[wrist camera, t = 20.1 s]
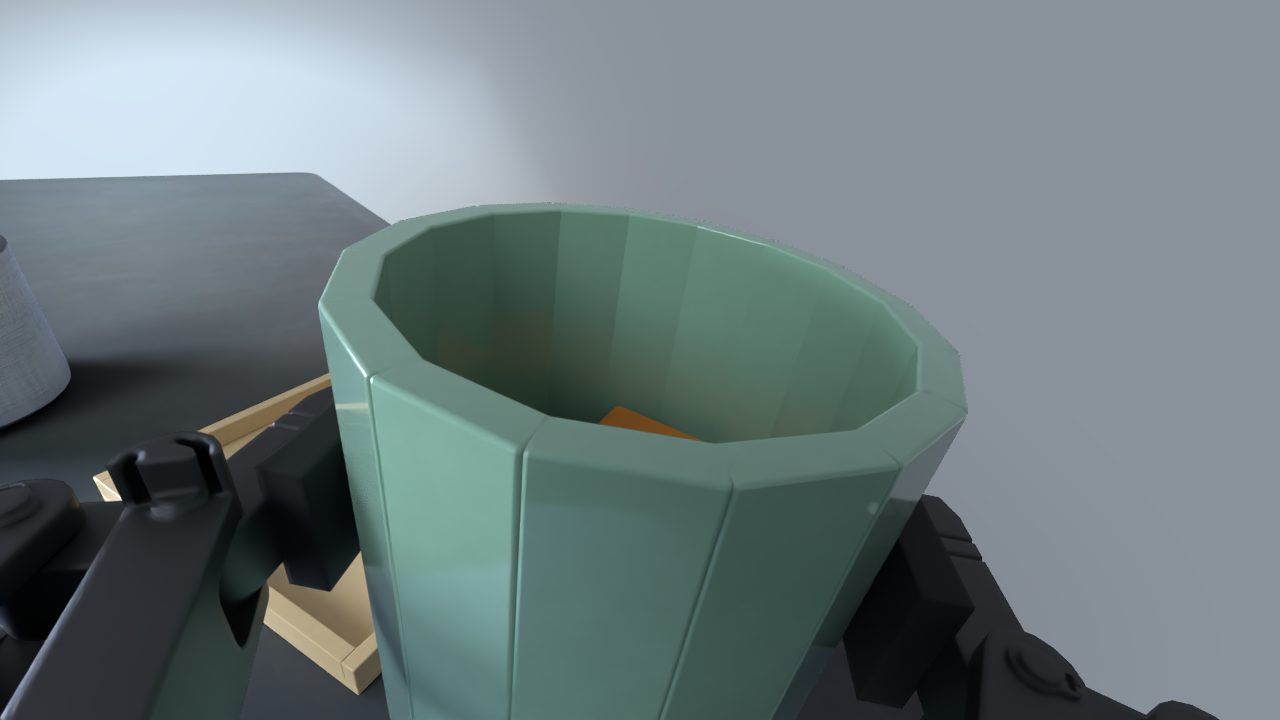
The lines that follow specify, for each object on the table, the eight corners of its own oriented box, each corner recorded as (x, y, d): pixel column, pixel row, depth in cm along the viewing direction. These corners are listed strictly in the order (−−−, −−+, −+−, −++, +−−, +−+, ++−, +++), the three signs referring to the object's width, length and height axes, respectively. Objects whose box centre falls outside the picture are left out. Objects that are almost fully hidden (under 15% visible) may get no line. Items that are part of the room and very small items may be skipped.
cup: (803, 596, 15) (950, 286, 11) (691, 1045, 8) (1016, 694, 3) (550, 471, 18) (573, 185, 14) (297, 711, 11) (145, 267, 6)
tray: (568, 478, 38) (570, 457, 37) (358, 696, 24) (352, 672, 23) (361, 378, 45) (358, 359, 44) (104, 501, 31) (92, 476, 30)
